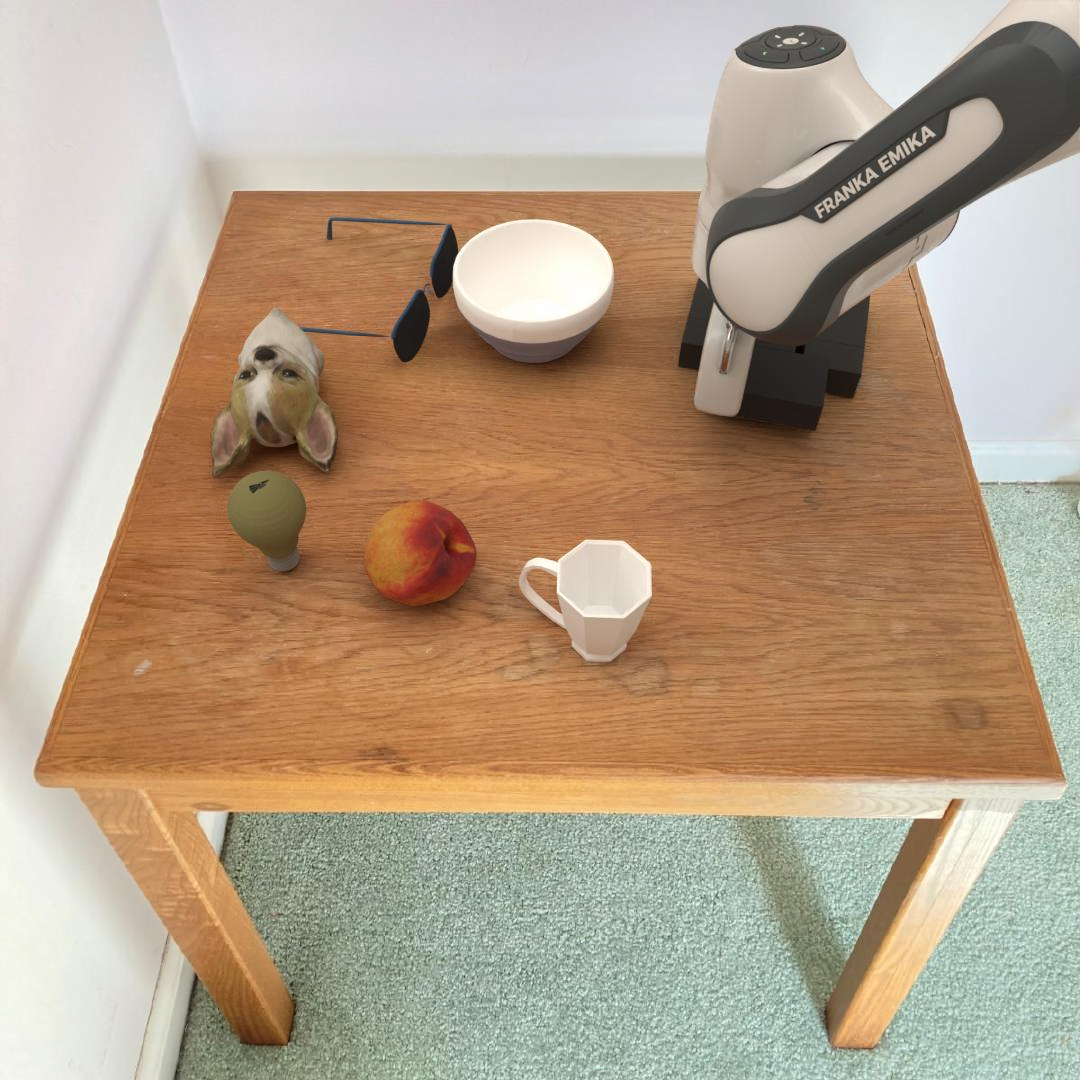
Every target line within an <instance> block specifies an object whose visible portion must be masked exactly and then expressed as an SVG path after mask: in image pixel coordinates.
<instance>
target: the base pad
mask: <svg viewBox="0 0 1080 1080" xmlns="http://www.w3.org/2000/svg"><path fill="white" fill-rule="evenodd" d="M870 302H871V294H870V295H869V296H868V297H866V298H865V299H863V300H862V301H860V302H859V303H858V304H856V305H855V306H853V307H852V308H850V309H849V310H847V311H846V312H845V313H843V314H842V315H840V316H839V317H838V318H837V319H836V321H835V322H834V323H832V324H831V325H830V326H829V327H827V328H826V329H825V330H824V331H822V332H821V333H820V334H819V335H818V336H816V337H815V338H814V339H813V340H811V341H810V342H808V343H806V344H804V345H801V346H796V350H795V353H798V354H803V355H809V356H815V357H820V358H826V359H830V361H829V368H828V375H827V383H826V390H825V394H827V395H835V396H838V397H844V398H845V397H846V398H850V399H853V398H855V395H856V392H857V389H858V387H859V383H860V380H861V378H862V374H863V365H864V357H865V348H866V337H867V330H868V320H869V311H870ZM713 303H714V301H713V299H712V297H711V294H710V291H709V289H708V287H707V286H706V284H705V283H704V282H703V281H702V280H701V279H700V278H699V277H698V276H697V282H696V286H695V288H694V292H693V296H692V300H691V304H690V307H689V311H688V315H687V319H686V322H685V325H684V330H683V334H682V338H681V342H680V349H679V355H678V360H677V361H678V363H677V367H678V368H685V369H691V370H695V371H699V367H700V361H701V356H702V351H703V346H704V341H705V336H706V331H707V327H708V323H709V319H710V315H711V311H712V307H713Z"/></svg>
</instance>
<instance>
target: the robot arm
mask: <svg viewBox="0 0 1080 1080" xmlns="http://www.w3.org/2000/svg"><path fill="white" fill-rule="evenodd" d="M862 73H863V72H861V70H860V67H859V64H858V62H857V60H856V57H855V54H854V51H853V48H852V47H851V44H850V43H849V42H848V40H846V39H845V38H844V36H842V35H840V34H839V33H837V32H836V31H833V30H831V29H828V28H826V27H822V26H817V25H808V24H793V25H788V26H787V25H786V26H777V27H773V28H771V29H768V30H765V31H763V32H761V33H758V34H756V35H754V36H752V37H750V38H749V39H746V40H744V41H743V42H742V43H740V44H739V45H738V46H737V47H736V48H734V49H733V50H732V52H731V54H730V55H729V57H728V59H727V60H726V63H725V65H724V68H723V70H722V72H721V75H720V79H719V82H718V85H717V89H716V92H715V96H714V100H713V105H712V109H711V115H710V120H709V125H708V131H707V137H706V145H705V152H704V160H705V167H706V173H707V174H706V176H707V177H706V181H705V184H704V186H703V188H702V190H701V192H700V195H699V198H698V202H697V206H696V207H697V208H696V214H695V215H696V216H695V223H694V228H693V235H692V243H691V248H690V256H689V257H690V264H691V267H692V270H693V271H694V273H695V275H696V276H697V278H698V277H699V278H700V279H701V280H702V281H703V282H704V283H705V284H706V286H707V287H708V289H709V291H710V294H711V297H712V299H713V301H714V303H713V307H712V311H711V315H710V319H709V323H708V327H707V331H706V336H705V341H704V346H703V351H702V356H701V361H700V367H699V370H698V373H697V378H696V383H695V389H694V396H693V406H694V408H695V409H696V410H697V411H699V412H702V413H706V414H710V415H715V416H722V417H728V418H729V417H730V418H731V417H735V415H737V413H738V412H739V410H740V407H741V403H742V399H743V394H744V389H745V385H746V380H747V376H748V371H749V367H750V362H751V358H752V353H753V348H754V344H755V339H756V338H757V339H760V340H763V341H766V342H769V343H772V344H777V345H781V346H787V347H796V346H801V345H804V344H806V343H808V342H810V341H811V340H813V339H814V338H815V337H816V336H818V335H819V334H820V333H821V332H822V331H824V330H825V329H826V328H827V327H829V326H830V325H831V324H832V323H834V322H835V321H836V319H837V318H838V317H839V316H840V315H842V314H843V313H845V312H846V311H847V310H849V309H850V308H852V307H853V306H855V305H856V304H858V303H859V302H860V301H862V300H863V299H865V298H866V297H868V296H869V295H870V296H871V295H872V294H874V293H875V292H877V291H878V290H880V288H882V287H883V286H885V285H886V284H888V283H889V282H890V281H892V280H893V279H895V278H896V277H897V276H899V275H900V274H902V273H904V272H905V271H906V270H908V269H909V268H910V267H911V266H913V265H915V264H916V263H918V262H919V261H920V260H922V259H923V258H924V257H925V256H927V255H929V254H930V253H931V252H932V251H933V250H935V249H936V248H938V247H939V246H941V245H942V244H943V243H944V242H946V240H947V239H948V238H949V237H950V236H951V234H952V233H953V231H954V230H955V227H956V225H957V224H958V220H959V217H960V213H961V210H963V209H965V208H966V207H968V206H970V205H972V204H973V203H975V202H976V201H978V200H980V199H981V198H983V197H985V196H987V195H989V194H991V193H993V192H995V191H997V190H999V189H1001V188H1003V187H1005V186H1007V185H1010V184H1011V183H1013V182H1015V181H1018V180H1020V179H1022V178H1024V177H1027V176H1029V175H1031V174H1033V173H1036V172H1037V171H1040V170H1042V169H1045V168H1048V167H1050V166H1052V165H1054V164H1057V163H1059V162H1061V161H1063V160H1066V159H1068V158H1071V157H1073V156H1076V155H1078V154H1080V0H1010V1H1009V2H1008V3H1007V4H1006V5H1005V6H1004V7H1003V8H1002V9H1001V11H1000V12H998V13H997V15H995V16H994V17H993V18H992V19H991V20H990V21H989V22H988V23H987V24H986V26H985V27H984V28H983V29H981V30H980V32H979V33H978V34H977V35H976V36H975V37H974V38H973V39H972V40H971V41H970V42H969V43H968V44H967V45H966V46H965V47H964V48H963V49H962V50H961V51H960V52H958V54H956V56H955V57H954V58H953V59H952V60H951V61H950V62H949V63H948V64H947V65H946V66H945V67H944V68H943V69H942V70H941V71H940V72H939V73H938V74H936V76H935V77H933V78H932V79H931V80H930V81H929V82H928V83H926V85H924V86H923V87H922V88H920V89H919V90H918V91H917V92H916V93H914V94H913V95H912V96H910V97H909V98H908V99H907V100H905V101H904V102H903V103H902V104H900V105H899V106H898V107H897V108H895V109H894V108H893V106H892V105H890V104H889V103H888V102H887V101H885V99H883V97H882V96H880V95H879V93H878V92H877V91H876V90H875V89H874V88H873V87H872V85H870V83H869V82H868V80H867V79H866V78H865V76H864V75H863V74H862Z"/></svg>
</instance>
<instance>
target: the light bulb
mask: <svg viewBox="0 0 1080 1080" xmlns="http://www.w3.org/2000/svg"><path fill="white" fill-rule="evenodd" d="M227 515H228V520H229V522H230V525H231V527H232V528H233V530H234V532H235V534H237V535H238V536H239V537H240V538H241V539H242V540H243V541H245V542H246V543H248V544H250V545H251V546H253V547H255V548H257V549H258V550H259V551H260V552H261V553H262V554H263V555H264V556H265V557H266V558H267V562H268V564H269V567H270V568H272V569H273V570H275V571H277V572H287V571H290V570H292V569H294V568H295V567H296V566H297V565H298V564H299V562H300V559H301V556H300V552H299V547H298V544H299V535H300V533H301V531H302V528H303V527H304V524H305V520H306V516H307V503H306V499H305V496H304V493H303V491H302V489H301V488H300V487H299V485H298V484H297V483H296V481H294V480H293V479H291V477H290V476H287V475H285V474H283V473H282V472H278V471H275V470H258V471H254V472H251V473H250V474H248V475H245V476H244V477H242V478H241V479H240V480H239V481H238V482H237V483H236V484H235V485H234V487H233V488H232V489H231V492H230V494H229V497H228V501H227Z"/></svg>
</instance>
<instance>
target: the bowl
mask: <svg viewBox="0 0 1080 1080" xmlns="http://www.w3.org/2000/svg"><path fill="white" fill-rule="evenodd" d="M614 286H615V271H614V264H613V260H612V258H611V256H610V253H609V251H608V250H607V249H606V248H605V247H604V245H603V244H602V242H600V241H599V240H598V239H596V237H594V236H593V235H592V234H590V233H588V232H586V231H585V230H583V229H581V228H579V227H576V226H573V225H570V224H568V223H564V222H560V221H557V220H556V221H555V220H549V219H539V218H538V219H536V218H535V219H533V218H532V219H519V220H512V221H506V222H503V223H500V224H497V225H493V226H491V227H489V228H487V229H484V230H482V231H481V232H479V233H478V234H476V235H475V236H473V237H472V238H470V239H469V240H468V241H467V242H466V243H465V244H464V245H463V246H462V247H461V249H460V251H458V255H457V256H456V260H455V263H454V266H453V282H452V289H453V294H454V298H455V302H456V304H457V308H458V309H459V311H460V312H461V314H462V316H463V317H464V318H465V320H466V321H467V322H468V324H469V326H470V327H472V329H473V330H475V331H476V333H477V334H478V336H480V338H481V339H483V341H484V342H485V343H487V344H488V345H491V346H492V347H493V348H494V350H496V351H497V352H498V353H500V354H501V355H502V356H504V357H505V358H508V359H511V360H513V361H516V362H521V363H527V364H528V363H529V364H541V363H547V362H551V361H554V360H557V359H560V358H561V357H564V356H565V355H566V354H568V353H569V352H570V351H572V350H573V348H575V347H576V346H577V345H578V344H579V343H581V342H582V341H583V340H585V339H586V338H587V336H588V335H589V334H590V333H591V332H592V330H594V329H595V327H596V326H597V325H598V324H599V322H600V321H601V319H602V318H603V317H604V315H605V314H606V312H607V311H608V308H609V307H610V304H611V301H612V298H613V291H614Z"/></svg>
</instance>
